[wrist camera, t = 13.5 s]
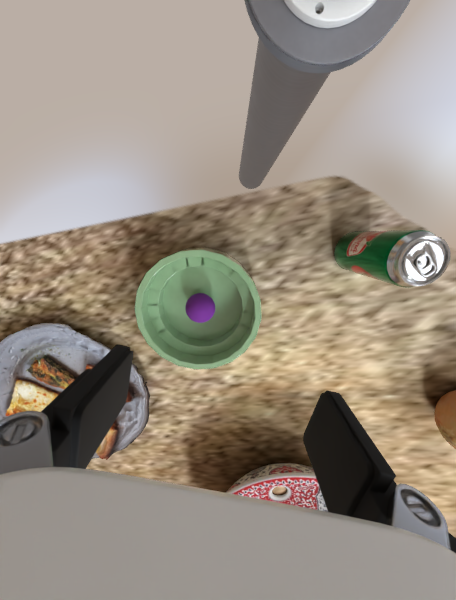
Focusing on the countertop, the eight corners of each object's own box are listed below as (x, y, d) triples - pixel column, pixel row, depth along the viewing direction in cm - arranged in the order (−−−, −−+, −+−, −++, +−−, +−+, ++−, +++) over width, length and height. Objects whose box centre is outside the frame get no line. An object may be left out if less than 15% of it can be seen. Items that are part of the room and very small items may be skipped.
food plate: (178, 378, 37) (172, 392, 33) (113, 467, 42) (103, 487, 39) (29, 293, 33) (6, 300, 29) (-20, 403, 38) (-44, 419, 35)
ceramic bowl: (370, 520, 46) (398, 578, 38) (234, 552, 49) (235, 612, 41) (337, 408, 38) (364, 453, 30) (178, 454, 41) (166, 505, 33)
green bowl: (158, 234, 30) (144, 235, 26) (269, 263, 31) (277, 268, 26) (142, 338, 35) (128, 354, 30) (241, 360, 36) (242, 379, 31)
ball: (191, 287, 32) (185, 293, 28) (219, 293, 32) (217, 301, 28) (185, 313, 33) (179, 323, 29) (212, 319, 33) (210, 330, 29)
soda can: (358, 223, 30) (440, 216, 18) (377, 254, 31) (465, 266, 19) (325, 247, 31) (383, 256, 19) (344, 276, 32) (409, 301, 20)
